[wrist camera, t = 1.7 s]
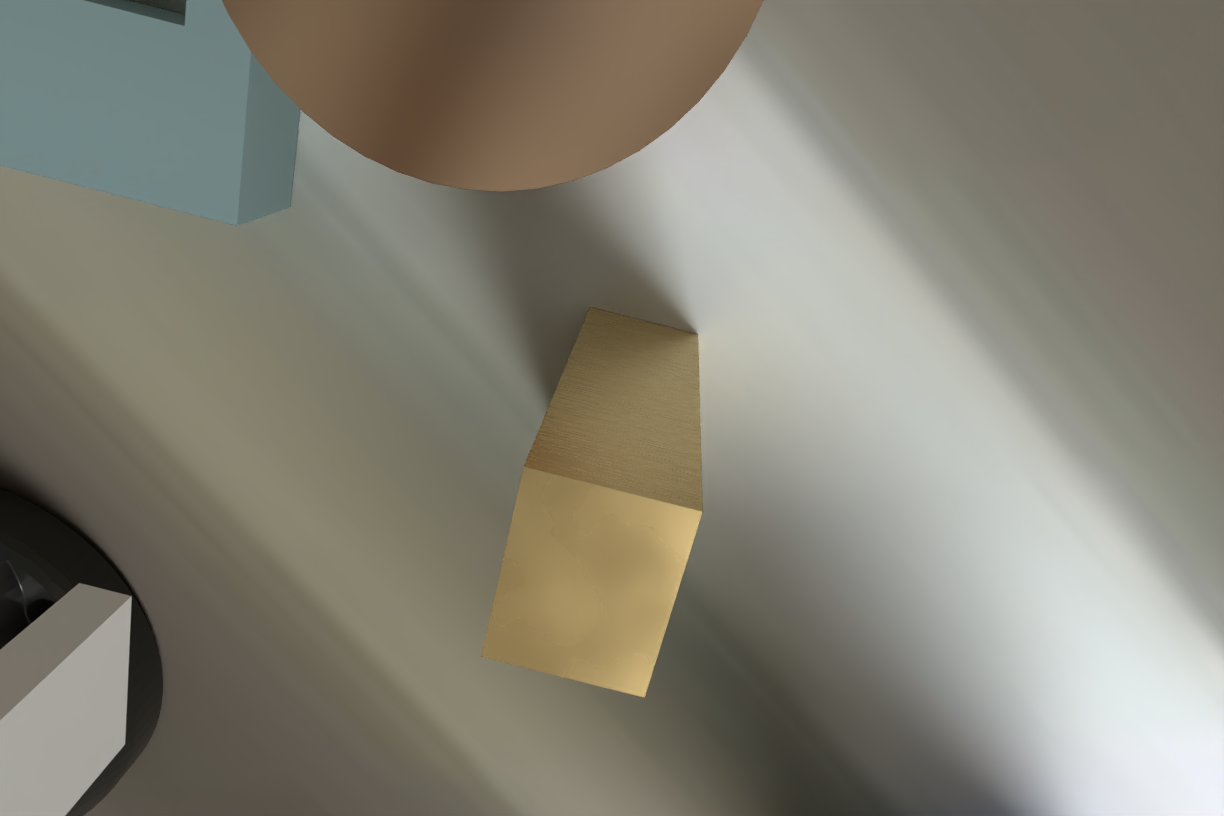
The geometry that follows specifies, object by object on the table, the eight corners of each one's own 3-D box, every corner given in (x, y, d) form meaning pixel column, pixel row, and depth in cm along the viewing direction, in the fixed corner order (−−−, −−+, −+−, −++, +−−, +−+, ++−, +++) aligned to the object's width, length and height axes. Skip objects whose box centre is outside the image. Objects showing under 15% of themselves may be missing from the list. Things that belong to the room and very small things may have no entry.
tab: (662, 460, 30) (644, 697, 19) (559, 434, 30) (481, 656, 19) (698, 334, 28) (702, 511, 17) (590, 307, 28) (523, 466, 17)
